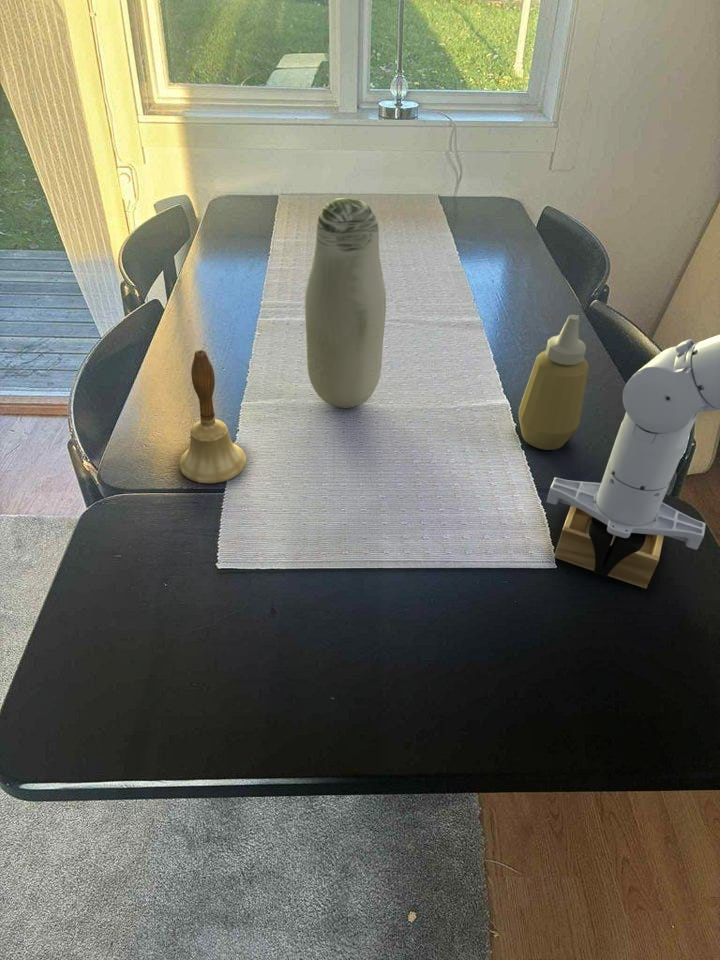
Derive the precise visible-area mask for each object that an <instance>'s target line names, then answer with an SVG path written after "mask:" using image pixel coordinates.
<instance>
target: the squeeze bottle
mask: <svg viewBox="0 0 720 960" xmlns="http://www.w3.org/2000/svg"><path fill="white" fill-rule="evenodd" d="M579 323H580V317H579V316H578V314H577V315H576V314H569V315H568V316H567V319H566V320H565V323H564V324H563V327H562V329H561V331H560V332H559V334H557V335H554V336H551V337H550V338H549V339H548V340H547V344H546V347H545V348H546V349H545V350H543V351H541V352H540V353H539V354H538V355H536V358H535V361H534V363H533V367H532V370H531V372H530V376H529V378H528V381H527V384H526V387H525V390H524V393H523V396H522V399H521V402H520V405H519V407H518V413H517V414H518V421H519V426H520V433H521V436H522V438H523V440H524V441H525V442H526V443H527V444H528V445H529V446H531V447H534V448H536V449H539V450H544V451H554V450H558V449H560V448H562V447H563V446H564V445H565V444H566V443H567V442H568V441H569V439H570V438H571V437H572V435H573V434H574V433H575V432H576V430H577V429H578V428H579V426H580V423H581V417H582V411H583V404H584V398H585V393H586V386H587V381H588V375H589V366H590V365H589V363H588V362H587V360H586V359H585V355H586V351H587V345H586V343H585V342H584V341H583V340H581V339H580V337H579V332H580V331H579V330H580V329H579V328H580V324H579Z"/></svg>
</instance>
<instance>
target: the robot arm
mask: <svg viewBox="0 0 720 960" xmlns="http://www.w3.org/2000/svg"><path fill="white" fill-rule="evenodd" d="M622 405H623V407H624V410H625V414H624V417H623V420H622V421H621V424H620V426H619V429H618V431H617V434H616V438H615V440H614V444H613V447H612V450H611V452H610V456H609V458H608V461H607V465H606V467H605V471H604V472H603V473H604V474H603V476H602V479H601V482H592V481H580V480H569V479H564V478H560V477H557V476H555V477H554V478H553V481H552V482H551V485H550V487H549V491H548V494H547V498H546V503H548V504H552V505H553V506H556V505H559V503H562V504H565V505H569V506H570V507H571V506H574V507H577V508H579V509H581V510H582V511H584V512H586V513H588V514H589V515H591V516H592V518H591V521H590V524H589V536H590V538H591V541H592V544H593V547H594V553H595V569H594V571H593V573H594V574H596V575H599V576H601V577H604V578H607V577H609V576H608V574H609V573H610V571H611V570H612V569H613V568H614V567H615V566H616V565H617V564H618V563H619V562H620V561H621V560H623V559H624V558H626V557H627V556H629V555H631V554H633V553H635V552H637V551H639V550H640V549H641V548H642V547H643V545H644V543H645V539H646V535H647V534H652V535H663V536H664V537H669V538H672V539H675V540H678V541H682V542H684V543H685V546H686V547H687V548H689V549H693V550H698V549H699V547H700V545H701V543H702V541H703V539H704V537H705V533H706V532H705V531H706V525H707V523H706V522H703V521H702V520H698V519H695V518H693V517H691V516H689V515H687V514H685V513H683V512H681V511H679V510H677V509H675V508H673V507H672V506H670V505H668V504H666V503H665V502H663V501H664V499H665V496H666V494H667V492H668V490H669V487H670V485H671V483H672V480H673V478H674V475H675V473H676V470H677V468H678V466H679V463H680V461H681V459H682V456H683V454H684V452H685V449H686V447H687V445H688V442H689V436H690V434H691V431H692V430H693V426H694V424H695V421H696V420H697V417H698V413H708V412H717V411H720V334H717V335H715V336H711V337H709V338H706V339H704V340H701V341H698V342H695V341H694V339H693V338H689V339H687V340H683V341H681V342H680V343H679V344H677V345H676V346H671V347H668V348H666V349H664V350H662V351H661V352H660V353H658V354H657V355H656V356H655V357H653V358H652V359H651V360H650V361H648V362H647V363H645V364H644V365H643V366H642V367H641V368H640V369H638V370H637V371H636V372H635V373H633V375H631V377H630V378H629V379H628V380H627V382H626V384H625V386H624V388H623V391H622ZM614 535H616V536H615V539H614V541H613V543H612V545H611V547H610V544H611V542H612V539H613V536H614ZM609 547H610V549H609ZM608 549H609V551H608ZM607 551H608V553H607Z"/></svg>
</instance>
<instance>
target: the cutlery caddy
mask: <svg viewBox="0 0 720 960" xmlns="http://www.w3.org/2000/svg"><path fill="white" fill-rule="evenodd" d="M591 518H592V516H591V515H589V514H588V513H586V512H584V511H582V510H581V509H579V508H577V507H574V506H571V505H570V508H569V510H568V513H567V516H566V519H565V522H564V524H563V527H562V530H561V533H560V537H559V539H558V542H557V546H556V549H555V553H554V556H553V558H554V559H558V560H559V561H563V562H566V563H569V564H572V565H574V566H575V565H576V566H578V567H581V568H584V569H586V570H590V571H593V572H594V569H595V553H594V547H593V544H592V541H591V538H590V536H589V524H590V521H591ZM615 536H616V535H614V536H613V539H612V542H611V544H610V547H611V545H612V543H613V541H614V539H615ZM664 537H665V536H663V535H652V534H647V535H646V539H645V543H644V545H643V547H642V548H641V549H640V550H639V551H637V552H635V553H633V554H631V555H629V556H627V557H626V558H624V559H623V560H621V561H620V562H619V563H618V564H617V565H616V566H615V567H614V568H613V569H612V570H611V571H610V573H609V574H608V576H607V577H609V578H613V579H616V580H619V581H621V582H624V583H628V584H631V585H634V586H637V587H640V588H642V589H647V588H648V585H649V583H650V582H651V580H652V577H653V575H654V572H655V571H656V568H657V566H658V563H659V561H660V557H661V553H662V547H663V542H664ZM610 547H609V549H610ZM609 549H608V551H609ZM608 551H607V553H608Z"/></svg>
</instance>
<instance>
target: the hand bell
mask: <svg viewBox="0 0 720 960" xmlns="http://www.w3.org/2000/svg"><path fill="white" fill-rule="evenodd" d="M191 364H192V365H191V373H190V375H191V381H192V386H193V389H194V393H196V396H197V398H198V401H199V418H200V419H199V420H198V421H197V422H195V423H194V424H193V425H192V426H191V428H190V439H189V446H188V448H187V449H186V450H185V451H184V453H183V454H182V455H181V458H180V459H179V468H180V469H179V470H180V471H181V473H182V475H184V476H185V478H187V479H188V480H191V481H193V482H196V483H200V484H218V483H223V482H226V481H230V480H232V479H233V478H235V477H237V476H239V474H240V473H241V472H242V471H244V470H245V468H246V465H247V457H246V454H245V452H244V451H243V449H242V448H241V447H240V446H238V445H237V444H236V443H234V442H233V441H232V439H231V436H230V434H229V429H228V426H227V425H226V424H225V422H224V421H222V420H219V419H217V418H215V408H214V403H213V395H214V393H215V392H214V391H215V385H216V378H215V376H216V375H215V371H214V368H213V365H212V363H211V361H210V359H209V356H208V354H207V352H206V350H204V349H197V350H196V351H194V356H193V360H192V363H191Z"/></svg>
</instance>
